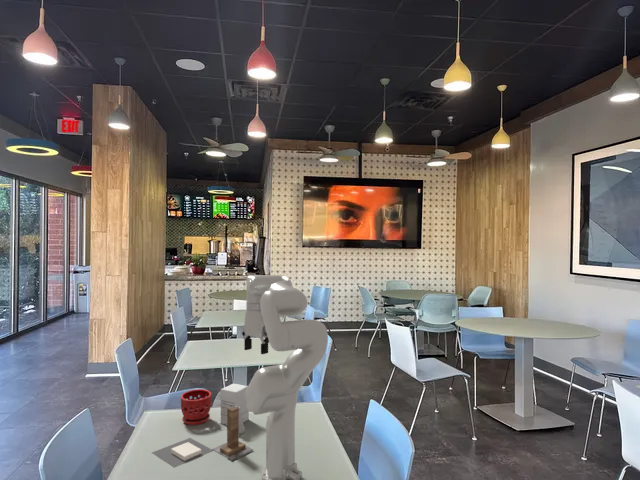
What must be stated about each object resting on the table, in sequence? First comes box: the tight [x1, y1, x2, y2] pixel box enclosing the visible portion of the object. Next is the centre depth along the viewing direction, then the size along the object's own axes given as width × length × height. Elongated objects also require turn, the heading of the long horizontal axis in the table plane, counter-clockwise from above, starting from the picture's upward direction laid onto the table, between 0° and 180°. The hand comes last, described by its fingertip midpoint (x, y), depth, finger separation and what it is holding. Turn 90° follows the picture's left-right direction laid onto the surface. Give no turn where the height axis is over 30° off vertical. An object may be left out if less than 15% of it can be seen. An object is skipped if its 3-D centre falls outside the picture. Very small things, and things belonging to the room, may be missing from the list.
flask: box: [236, 406, 246, 436], centre depth 172 cm, size 7×7×10 cm
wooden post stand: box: [220, 407, 246, 455], centre depth 156 cm, size 5×8×15 cm, turn 139°
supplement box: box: [220, 383, 250, 426], centre depth 182 cm, size 9×9×15 cm
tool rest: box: [212, 442, 254, 462], centre depth 156 cm, size 12×10×1 cm
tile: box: [171, 442, 201, 461], centre depth 153 cm, size 2×7×9 cm
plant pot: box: [180, 388, 213, 426], centre depth 183 cm, size 13×13×12 cm
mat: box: [151, 437, 215, 468], centre depth 154 cm, size 16×16×1 cm
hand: (256, 351), depth 160 cm, fingers open, 9 cm apart
